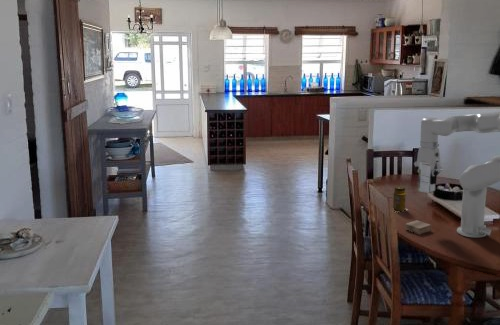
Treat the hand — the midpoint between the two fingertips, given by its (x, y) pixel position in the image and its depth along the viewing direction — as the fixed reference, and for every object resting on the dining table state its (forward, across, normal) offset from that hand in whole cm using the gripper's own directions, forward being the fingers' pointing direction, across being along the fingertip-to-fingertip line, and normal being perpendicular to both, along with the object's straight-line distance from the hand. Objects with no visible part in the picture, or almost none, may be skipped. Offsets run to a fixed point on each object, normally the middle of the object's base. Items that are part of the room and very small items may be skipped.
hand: (427, 181), depth 239 cm
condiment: (+22, +24, -7) cm, 33 cm away
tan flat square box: (+22, -3, +8) cm, 23 cm away
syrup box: (+5, 0, 0) cm, 5 cm away
